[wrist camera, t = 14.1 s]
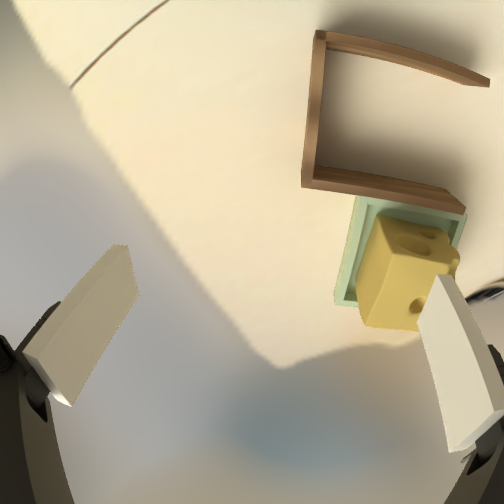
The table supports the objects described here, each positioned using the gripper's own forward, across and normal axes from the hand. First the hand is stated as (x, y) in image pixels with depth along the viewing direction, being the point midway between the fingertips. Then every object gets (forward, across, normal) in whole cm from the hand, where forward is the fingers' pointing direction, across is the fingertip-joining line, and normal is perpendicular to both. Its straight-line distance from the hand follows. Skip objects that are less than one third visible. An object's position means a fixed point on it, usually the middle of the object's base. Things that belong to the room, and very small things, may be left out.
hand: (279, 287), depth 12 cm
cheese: (+25, +15, -12) cm, 32 cm away
